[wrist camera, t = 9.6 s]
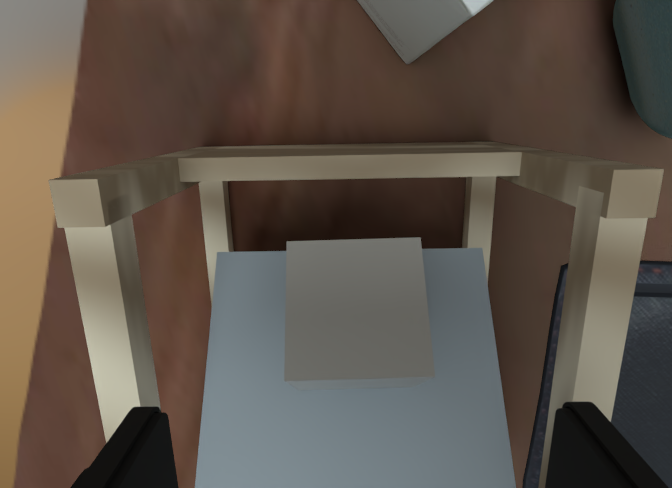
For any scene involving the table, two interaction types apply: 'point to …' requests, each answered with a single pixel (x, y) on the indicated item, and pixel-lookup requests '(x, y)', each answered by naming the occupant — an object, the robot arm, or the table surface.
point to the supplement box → (419, 21)
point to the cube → (356, 314)
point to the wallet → (626, 374)
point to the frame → (360, 163)
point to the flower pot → (647, 58)
